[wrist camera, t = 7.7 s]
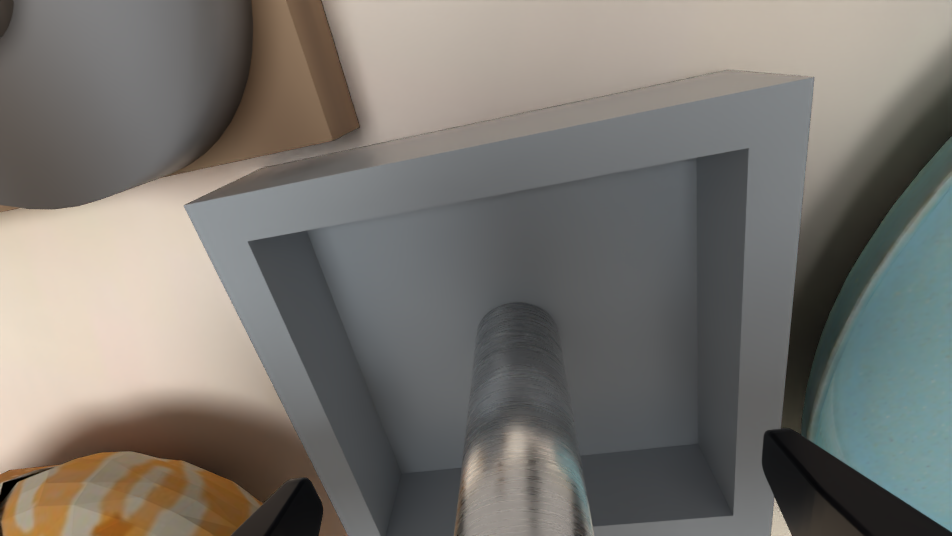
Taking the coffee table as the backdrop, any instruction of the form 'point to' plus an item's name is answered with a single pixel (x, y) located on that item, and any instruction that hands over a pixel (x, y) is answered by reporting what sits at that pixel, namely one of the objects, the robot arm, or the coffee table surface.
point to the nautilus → (121, 499)
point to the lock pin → (520, 433)
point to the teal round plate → (894, 352)
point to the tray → (537, 296)
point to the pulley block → (157, 91)
